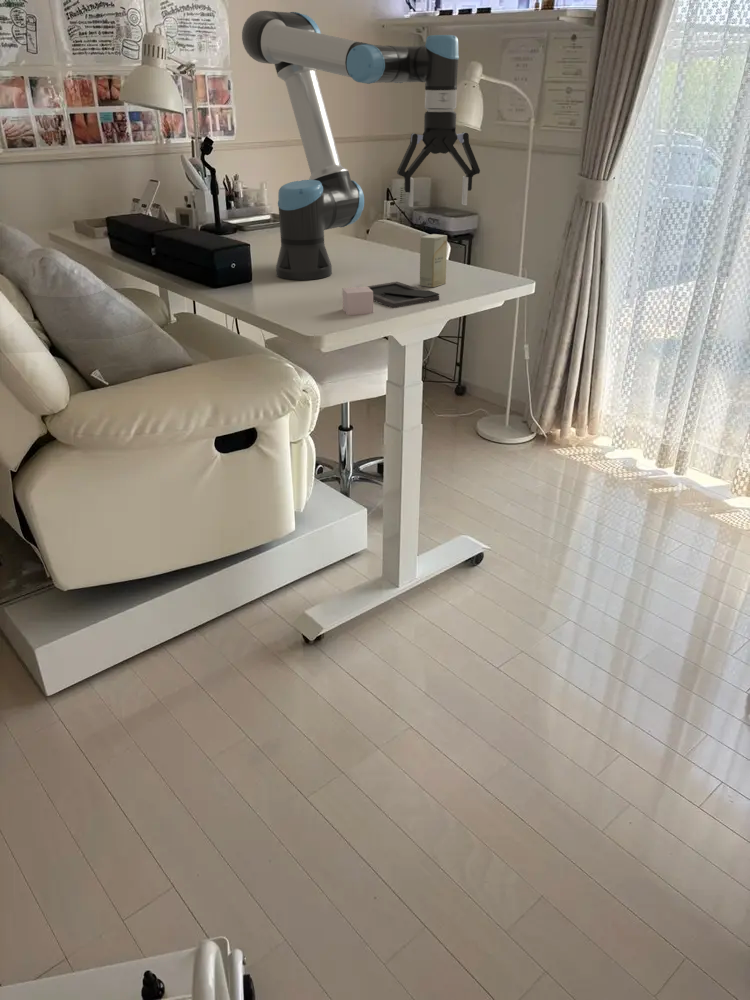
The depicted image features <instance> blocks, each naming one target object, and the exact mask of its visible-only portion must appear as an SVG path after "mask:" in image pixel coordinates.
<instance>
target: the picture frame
mask: <svg viewBox="0 0 750 1000" xmlns="http://www.w3.org/2000/svg"><path fill="white" fill-rule="evenodd" d="M367 286H368V287H369V288H370V289H371V290H372V291H373V301H374V300H375V301H374V302H376V301H377V302H376V303H378V304H381V303H382V305H385V306H387V307H389V306H390V308H392V309H396V308H400V307H407V306H412V305H413V306H414V305H419V304H425V303H430V302H429V301H431V302H434V301H440V293H438V292H435V291H431V290H429V289H428V290H426V289H425V290H424V289H420V288H417V287H415V286H412V285H408V284H406V283H402V282H399V281H391V282H385V283H380V284H372V285H367ZM367 286H365V287H367Z"/></svg>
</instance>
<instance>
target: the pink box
mask: <svg viewBox="0 0 750 1000" xmlns="http://www.w3.org/2000/svg"><path fill="white" fill-rule="evenodd" d="M368 286H369V285H367V287H366V286H354V287H343V288H341V289H342V294H341V295H342V310H343V311H344V313H346V316H353V315H363V314H364V315H367V314H374V300H373V291H372V290H371V289H370V288H369V287H368Z"/></svg>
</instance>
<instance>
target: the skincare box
mask: <svg viewBox="0 0 750 1000" xmlns="http://www.w3.org/2000/svg"><path fill="white" fill-rule="evenodd" d="M419 239H420V241H419V242H420V250H419V251H420V252H419V253H420V254H419V257H420V258H419V286H421V287H428V288H435V287H438V286H443V285H445V284H446V283H447V281H446V280H447V255H448V253H447V251H448V235H446V234H437V233H431V234H428V235H427V234H426V235H424V236H420V238H419ZM442 284H443V285H442Z"/></svg>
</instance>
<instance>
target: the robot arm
mask: <svg viewBox="0 0 750 1000" xmlns="http://www.w3.org/2000/svg"><path fill="white" fill-rule="evenodd" d="M241 42H242V45H243V48H244V50H245V52H246V53H247V54H248V55H249V57H250V58H252V59H253V60H254V61H256V62H258V63H261V64H271V65H274V69H275V72H276V75H277V77H278V78H279V79H281V80H282V81H284V82H285V86H286V89H287V92H288V96H289V100H290V104H291V107H292V110H293V114H294V117H295V122H296V125H297V129H298V132H299V136H300V139H301V143H302V146H303V150H304V153H305V157H306V161H307V165H308V168H309V172H310V177H309V178H308V179H302V180H296V181H295V180H294V181H292V182H287V183H284V184H283V185H281V186H280V187H279V189H278V201H277V207H278V215H279V232H280V249H279V254H278V257H277V261H276V265H275V273H276V276H277V277H279V278H281V279H285V280H294V281H296V280H297V281H306V280H319V279H323V278H327V277H330V276H331V275H332V274H333V271H332V270H333V268H332V267H333V265H332V263H331V262H332V261H331V259H330V256H329V254H328V251H327V248H326V246H325V245H326V243H325V231H326V230H330V229H331V230H332V229H337V228H345V227H347V226H350V225H352V224H355V223H356V222H357V221H358V220H359V219H360V218H361V216H362V213H363V210H364V209H365V195H364V191H363V189H362V187H361V186H360V184H358V183H357V181H355V180H353V179H352V178H351V176H350V172H349V169H348V168H346V167H344V166H343V165H342V163H341V160H340V159H341V158H340V156H339V152H338V148H337V144H336V140H335V137H334V134H333V130H332V126H331V121H330V119H329V118H330V117H329V115H328V112H327V111H328V110H327V108H326V104H325V100H324V97H323V93H322V90H321V89H322V88H321V84H320V81H319V79H318V74H317V70H319V71H322V72H327V73H331V74H335V75H338V76H339V75H340V76H344V77H348V78H351V79H352V80H353V81H355V82H357V83H362V84H368V85H369V84H375V83H377V84H378V83H386V84H387V83H394V84H398V83H399V84H403V83H424V109H425V110H426V111H425V112H424V114H423V115H424V118H423V119H424V120H423V121H424V123H423V124H424V125H423V133H422V134H418V133H415V132H412V133H410V140H409V143H408V147H407V149H406V151H405V153H404V155H403V158H402V160H401V162H400V164H399V166H398V169H397V171H396V173H397V175H399V176H400V177H403V180H404V191H405V193H408V195H407V196H408V197H407V198H408V199H407V200H408V202H407V204H408V205H407V206H408V207H410V208H414V196H415V194H414V191H415V189H414V187H415V186H414V185H415V179H414V178H413V177H412V176H413V175H414V173H415V172H416V171H417V170H418V168H419V167H420V166H421V165H422V163H423V162H424V160H425V159H426V158H427V156H428V155H429V154H433V155H437V154H438V155H439V154H448V153H449V154H450V155H451V156H452V158H453V159H454V161H455V162H456V163H457V165H458V166H459V167H460V168H461V170H462V172H463V173H464V175H463V176H462V181H461V182H462V183H461V184H462V185H461V188H462V189H461V205H463V206H465V207H466V206H468V194H469V193H468V191H472V189H473V177H474V176H476V175H478V174H480V173H481V170H480V167H479V165H478V161H477V159H476V157H475V155H474V152H473V149H472V147H471V144H470V135H469V133H467V132H465V131H464V132H462V133H457V128H456V127H457V113H456V111H455V109H457V99H458V98H457V97H458V95H457V94H458V69H459V60H460V56H459V39H458V37H457V35H453V34H432V35H428V36H427V37H426V39H425V45H420V46H419V45H410V46H409V45H381V44H372V43H368V42H367V43H366V42H364V41H363V42H362V41H358V40H353V39H348V38H342V37H339V36H334V35H328V34H325V33H322V31H321V30H320V27H319V26H318V24H317V22H316V21H315V20H314V19H313V18H312V17H310V16H309V15H307V14H303V13H300V12H296V11H290V12H288V11H286V12H284V11H271V10H259V11H256V12H253V14H251V15H250V16H249V17H248V18H247V19H246V20H245V22H244V23H243V27H242V30H241ZM457 140H458V142H459V143H460V144H461V145H462V147H463V150H464V153H465V155H466V157H467V161H468V162H469V165H470V167H471V169H470V167H469V166H468V164H467V163H466V162H465V161H464V158H462V157H461V155H460V153H459V152H458V150H457V149H456V148H455V146H454V145H455V144H456V142H457ZM421 141H422V142H423V143H424V145H425V146H424V147H423V148H422V149H421V151H420V152H419V154H418V155H417V156H416V158H415V159H414V160H413V162H412V163H411V164H410V166H409V167H408V165H409V163H410V161H411V159H412V156H413V154H414V153H415V150H416V147H417V145H419V144H420V143H421ZM407 167H408V168H407Z"/></svg>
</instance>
